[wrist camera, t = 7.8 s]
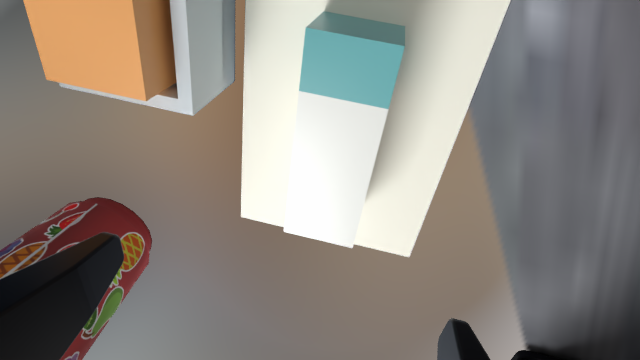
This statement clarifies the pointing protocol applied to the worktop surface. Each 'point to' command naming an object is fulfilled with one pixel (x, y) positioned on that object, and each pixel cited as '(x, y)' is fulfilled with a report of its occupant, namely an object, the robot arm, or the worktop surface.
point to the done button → (106, 44)
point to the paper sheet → (402, 118)
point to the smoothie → (72, 229)
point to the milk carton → (339, 122)
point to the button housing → (195, 56)
